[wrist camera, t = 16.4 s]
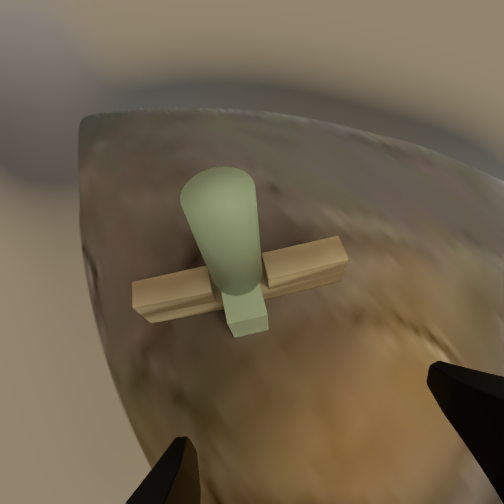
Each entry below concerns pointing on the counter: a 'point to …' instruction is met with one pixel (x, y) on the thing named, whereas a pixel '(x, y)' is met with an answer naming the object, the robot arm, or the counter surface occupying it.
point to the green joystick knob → (229, 242)
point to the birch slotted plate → (272, 282)
